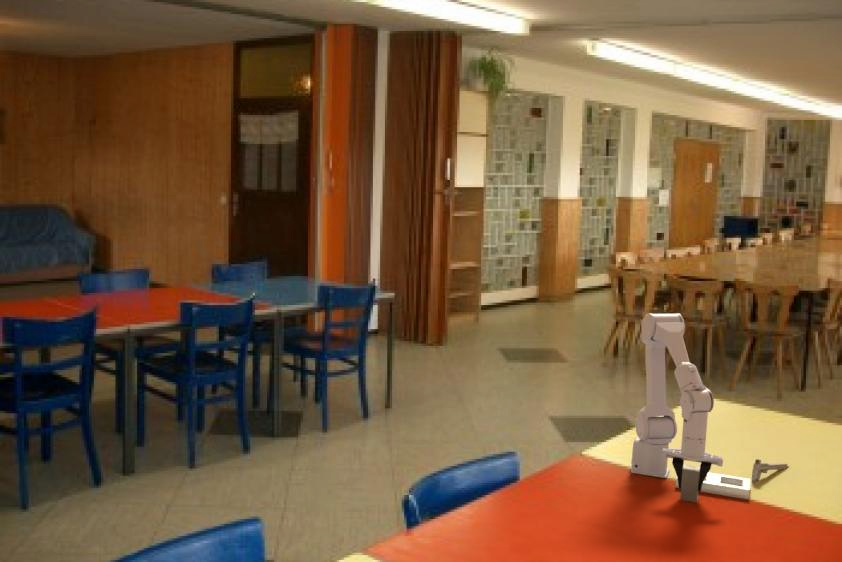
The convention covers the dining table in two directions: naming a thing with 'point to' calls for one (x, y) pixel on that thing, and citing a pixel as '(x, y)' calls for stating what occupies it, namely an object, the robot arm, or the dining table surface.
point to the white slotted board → (725, 485)
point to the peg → (690, 483)
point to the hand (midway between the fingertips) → (689, 488)
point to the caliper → (765, 468)
